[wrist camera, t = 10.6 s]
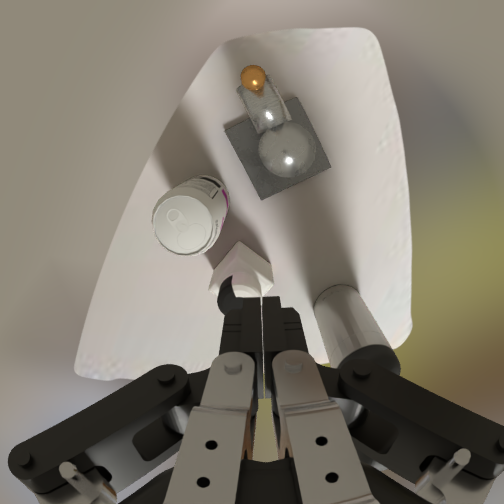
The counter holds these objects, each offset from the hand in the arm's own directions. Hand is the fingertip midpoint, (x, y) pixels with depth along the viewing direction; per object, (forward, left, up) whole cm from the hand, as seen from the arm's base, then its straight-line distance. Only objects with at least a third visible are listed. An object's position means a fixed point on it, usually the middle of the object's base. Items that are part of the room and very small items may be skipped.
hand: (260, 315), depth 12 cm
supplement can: (+2, +8, -35) cm, 36 cm away
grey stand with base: (+4, -6, -35) cm, 36 cm away
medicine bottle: (-11, +8, -35) cm, 38 cm away
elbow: (+8, -6, -30) cm, 32 cm away
